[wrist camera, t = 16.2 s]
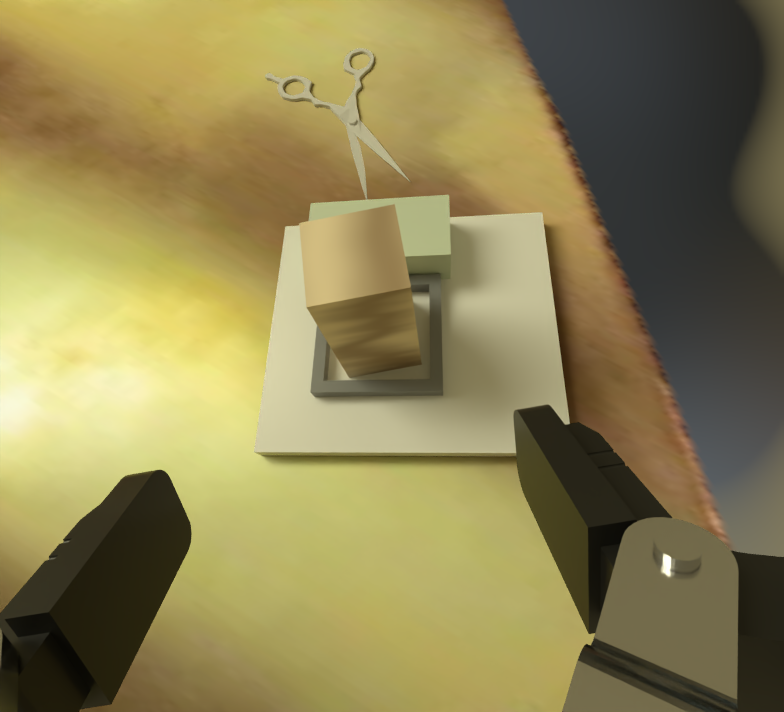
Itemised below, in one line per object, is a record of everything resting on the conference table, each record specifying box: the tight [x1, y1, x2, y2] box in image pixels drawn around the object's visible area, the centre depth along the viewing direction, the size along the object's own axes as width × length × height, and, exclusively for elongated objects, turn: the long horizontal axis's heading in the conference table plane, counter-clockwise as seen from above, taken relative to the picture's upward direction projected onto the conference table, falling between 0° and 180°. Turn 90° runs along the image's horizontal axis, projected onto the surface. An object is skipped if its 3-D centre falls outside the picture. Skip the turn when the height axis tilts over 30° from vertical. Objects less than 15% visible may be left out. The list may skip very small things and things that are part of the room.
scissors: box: [265, 48, 409, 200], centre depth 41 cm, size 11×1×20 cm
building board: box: [254, 212, 570, 456], centre depth 31 cm, size 20×18×2 cm
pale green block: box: [309, 195, 451, 279], centre depth 32 cm, size 10×5×3 cm, turn 89°
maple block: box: [299, 204, 422, 378], centre depth 26 cm, size 5×5×10 cm
